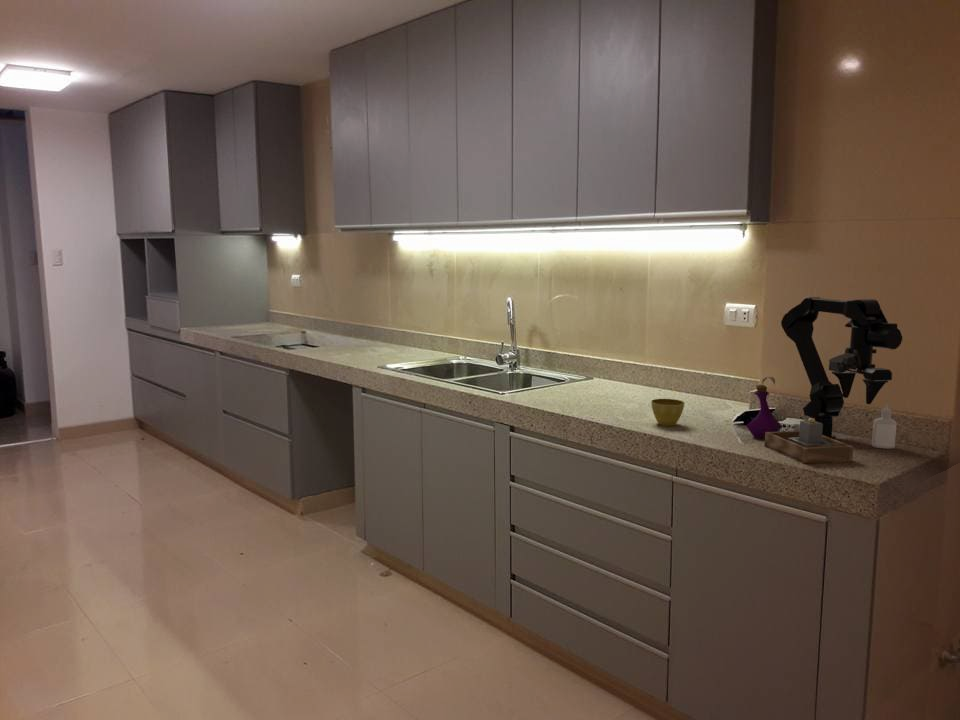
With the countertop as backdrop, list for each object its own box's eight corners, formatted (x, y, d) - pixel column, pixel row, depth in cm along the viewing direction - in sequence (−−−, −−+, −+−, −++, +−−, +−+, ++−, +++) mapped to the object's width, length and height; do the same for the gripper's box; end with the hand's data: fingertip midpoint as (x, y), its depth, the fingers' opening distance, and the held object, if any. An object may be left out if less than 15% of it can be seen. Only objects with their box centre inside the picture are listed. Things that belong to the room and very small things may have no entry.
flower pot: (660, 428, 235) (661, 405, 234) (644, 421, 245) (645, 399, 244) (689, 427, 238) (690, 404, 237) (673, 420, 247) (674, 398, 246)
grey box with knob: (797, 450, 208) (800, 417, 207) (811, 449, 209) (813, 416, 208) (807, 453, 205) (809, 420, 203) (820, 453, 205) (823, 420, 204)
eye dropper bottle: (891, 450, 213) (895, 407, 211) (869, 446, 216) (873, 404, 215) (896, 447, 216) (900, 405, 214) (874, 444, 220) (878, 402, 218)
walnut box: (764, 446, 215) (765, 432, 215) (809, 444, 218) (810, 430, 218) (804, 463, 198) (805, 448, 197) (852, 461, 201) (853, 446, 200)
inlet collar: (787, 448, 210) (787, 437, 209) (813, 447, 212) (814, 436, 211) (805, 456, 202) (806, 445, 202) (832, 455, 204) (833, 443, 203)
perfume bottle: (745, 436, 226) (749, 375, 224) (757, 432, 231) (761, 373, 229) (770, 441, 221) (774, 379, 218) (781, 437, 226) (786, 376, 224)
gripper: (814, 341, 220) (810, 395, 222) (859, 349, 202) (854, 408, 204) (848, 340, 222) (844, 394, 224) (896, 349, 204) (890, 407, 206)
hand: (856, 400), depth 215 cm, fingers open, 9 cm apart
